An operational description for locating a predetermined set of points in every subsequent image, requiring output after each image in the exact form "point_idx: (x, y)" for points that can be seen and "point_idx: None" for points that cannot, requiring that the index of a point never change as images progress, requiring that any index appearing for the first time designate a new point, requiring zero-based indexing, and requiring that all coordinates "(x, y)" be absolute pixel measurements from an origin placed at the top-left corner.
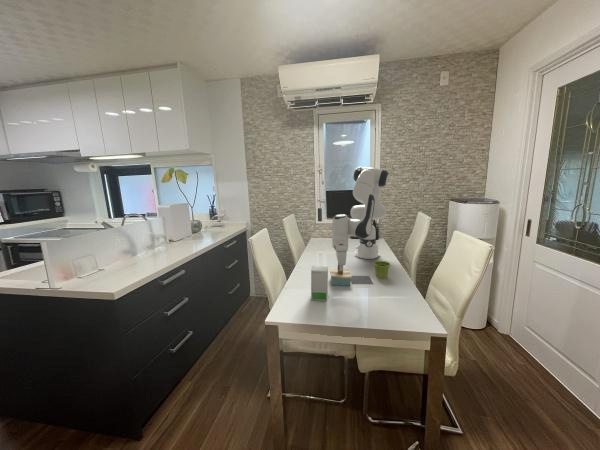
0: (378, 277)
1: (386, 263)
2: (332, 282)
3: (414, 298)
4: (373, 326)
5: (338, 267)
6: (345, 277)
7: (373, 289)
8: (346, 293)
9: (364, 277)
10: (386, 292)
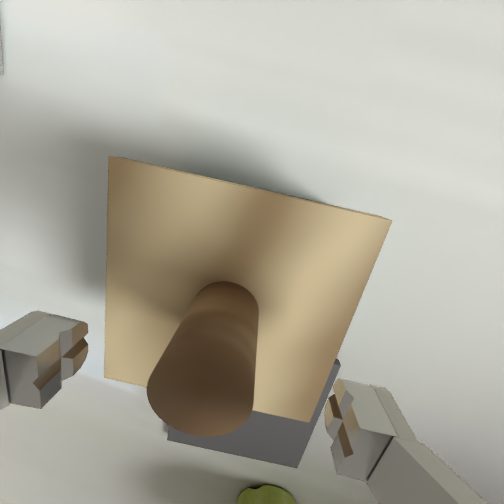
0: (250, 495)
1: None
2: None
3: (19, 501)
4: None
5: (179, 339)
6: (111, 320)
7: (112, 410)
8: (52, 246)
9: (278, 437)
10: (74, 444)
